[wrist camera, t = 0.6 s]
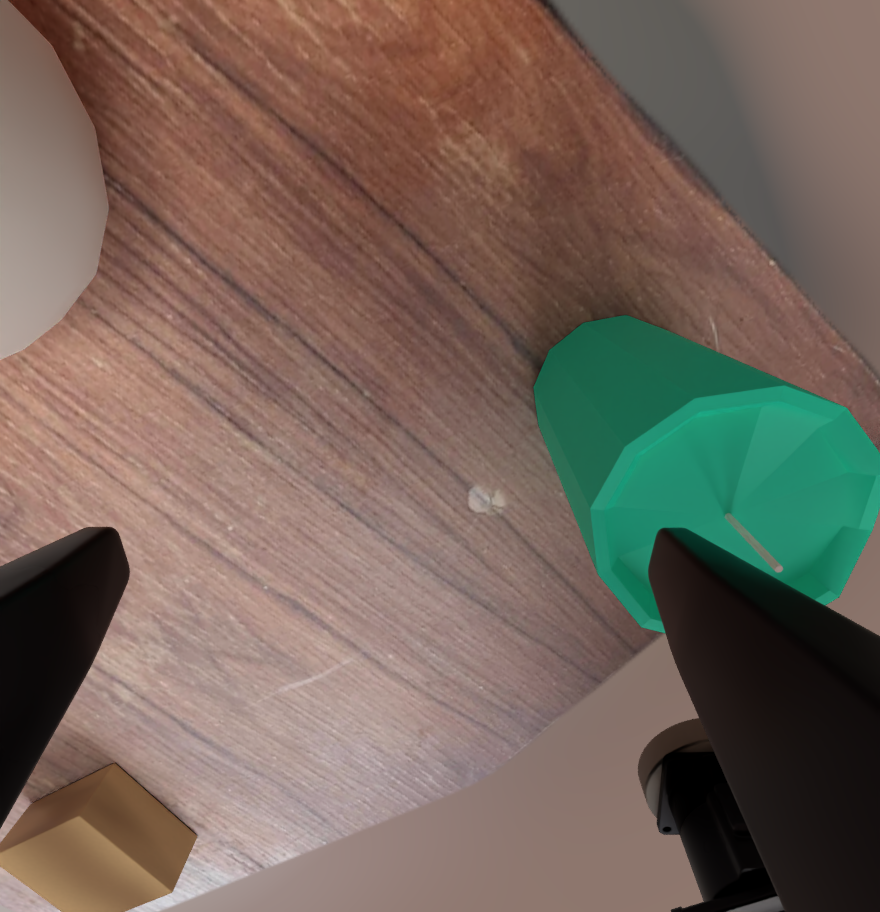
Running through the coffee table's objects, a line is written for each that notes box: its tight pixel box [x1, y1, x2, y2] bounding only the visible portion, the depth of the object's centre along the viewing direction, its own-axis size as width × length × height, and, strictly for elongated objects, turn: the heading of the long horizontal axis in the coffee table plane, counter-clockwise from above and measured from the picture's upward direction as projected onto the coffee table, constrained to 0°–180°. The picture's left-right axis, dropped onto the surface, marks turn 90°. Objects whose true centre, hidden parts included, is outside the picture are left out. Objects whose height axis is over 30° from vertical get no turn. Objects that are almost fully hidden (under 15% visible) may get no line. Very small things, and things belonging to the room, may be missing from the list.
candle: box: [533, 315, 880, 633], centre depth 15 cm, size 6×6×12 cm
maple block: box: [0, 763, 197, 912], centre depth 30 cm, size 7×7×3 cm
